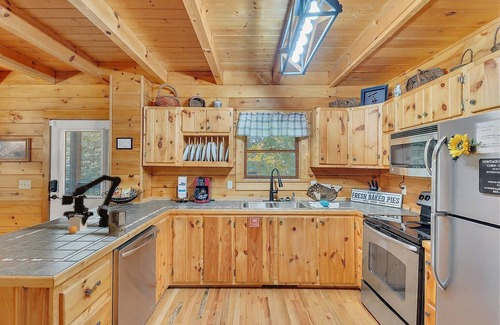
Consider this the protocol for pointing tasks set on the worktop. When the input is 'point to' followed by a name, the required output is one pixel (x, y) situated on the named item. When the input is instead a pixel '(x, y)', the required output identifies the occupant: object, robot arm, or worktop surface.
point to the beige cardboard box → (77, 223)
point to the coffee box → (117, 222)
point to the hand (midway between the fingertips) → (78, 225)
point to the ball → (73, 229)
